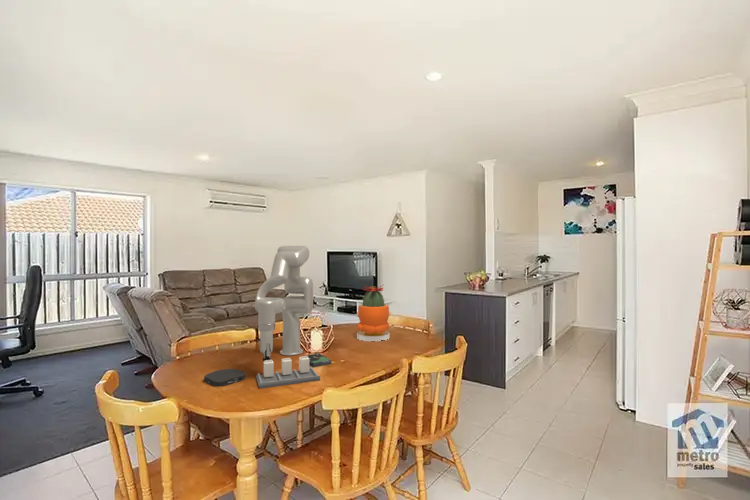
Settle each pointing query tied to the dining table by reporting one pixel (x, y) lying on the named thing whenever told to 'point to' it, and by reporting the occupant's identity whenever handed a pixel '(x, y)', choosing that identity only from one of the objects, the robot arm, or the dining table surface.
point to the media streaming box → (224, 377)
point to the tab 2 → (286, 366)
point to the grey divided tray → (287, 378)
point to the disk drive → (318, 360)
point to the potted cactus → (373, 316)
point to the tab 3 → (303, 364)
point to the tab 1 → (268, 368)
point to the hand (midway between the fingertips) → (266, 366)
